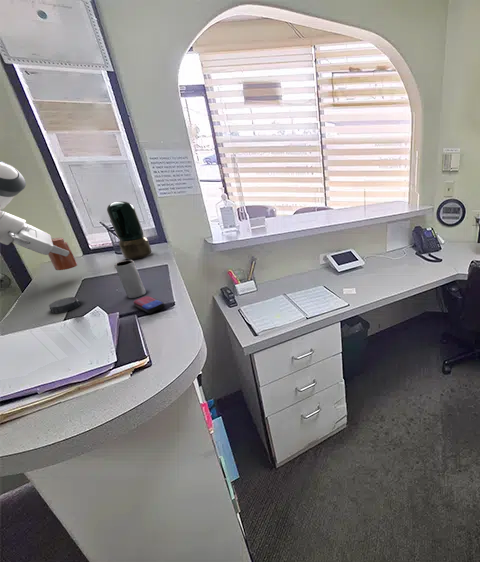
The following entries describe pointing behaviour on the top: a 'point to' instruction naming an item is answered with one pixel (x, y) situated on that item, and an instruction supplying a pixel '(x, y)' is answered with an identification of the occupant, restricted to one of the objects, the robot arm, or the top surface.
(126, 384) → the top surface
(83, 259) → the top surface
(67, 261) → the jar
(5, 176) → the robot arm
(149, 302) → the eraser
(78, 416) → the top surface
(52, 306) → the jar lid
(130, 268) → the planter
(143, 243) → the lamp
